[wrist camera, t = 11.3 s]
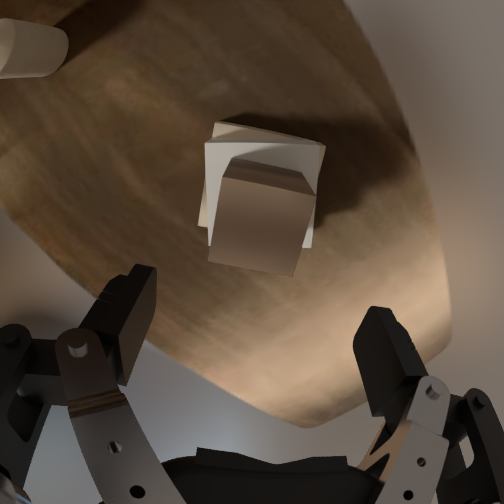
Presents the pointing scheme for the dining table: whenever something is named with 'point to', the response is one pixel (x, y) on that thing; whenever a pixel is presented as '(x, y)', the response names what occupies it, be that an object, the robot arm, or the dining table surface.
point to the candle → (30, 49)
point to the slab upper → (262, 151)
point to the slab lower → (245, 132)
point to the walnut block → (261, 217)
